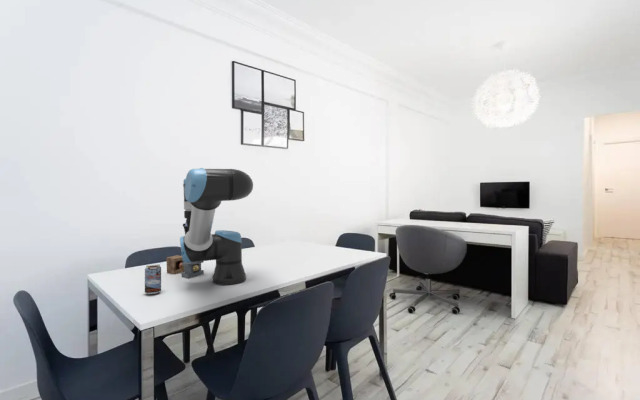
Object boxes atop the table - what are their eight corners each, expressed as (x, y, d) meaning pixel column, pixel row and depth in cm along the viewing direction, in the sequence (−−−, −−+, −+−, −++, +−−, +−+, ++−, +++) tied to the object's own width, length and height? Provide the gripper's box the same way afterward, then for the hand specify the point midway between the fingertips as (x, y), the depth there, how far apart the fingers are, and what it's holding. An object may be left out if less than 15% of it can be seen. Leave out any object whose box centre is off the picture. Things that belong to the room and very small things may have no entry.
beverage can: (144, 297, 132) (143, 267, 132) (145, 291, 139) (144, 263, 139) (161, 294, 135) (160, 265, 134) (162, 289, 142) (161, 261, 141)
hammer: (199, 270, 163) (199, 251, 163) (193, 272, 160) (193, 252, 160) (184, 268, 170) (183, 249, 169) (178, 269, 167) (177, 250, 166)
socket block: (185, 271, 172) (184, 256, 172) (174, 274, 166) (173, 258, 166) (178, 270, 175) (177, 255, 175) (166, 273, 170) (166, 257, 169)
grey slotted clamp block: (203, 274, 166) (203, 260, 166) (188, 278, 159) (187, 264, 158) (197, 273, 169) (196, 259, 169) (181, 277, 161) (181, 263, 161)
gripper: (207, 209, 162) (208, 257, 163) (190, 209, 169) (191, 254, 170) (194, 211, 155) (195, 260, 156) (177, 210, 162) (178, 257, 163)
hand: (193, 257), depth 163 cm, fingers closed
